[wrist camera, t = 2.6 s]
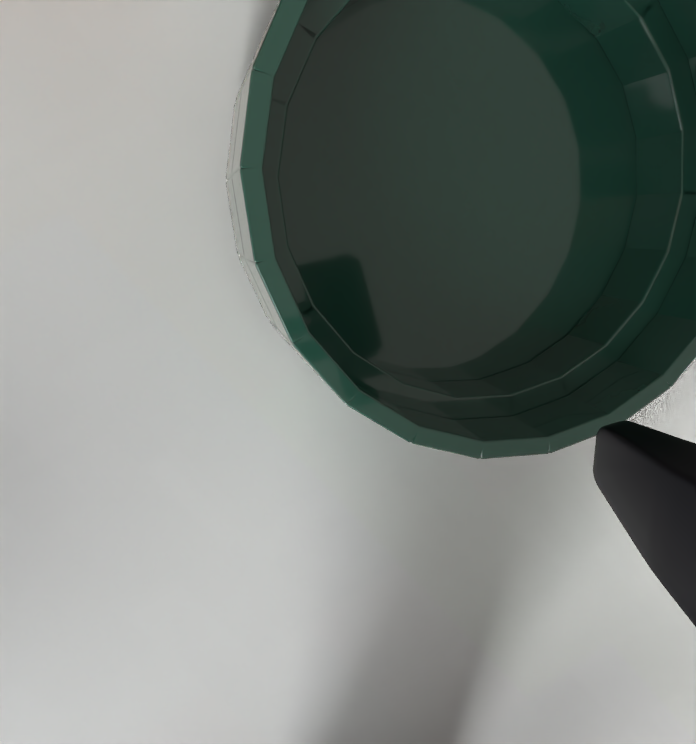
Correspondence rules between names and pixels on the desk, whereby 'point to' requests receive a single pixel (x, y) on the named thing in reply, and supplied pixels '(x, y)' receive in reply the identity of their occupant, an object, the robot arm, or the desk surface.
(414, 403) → the green shallow bowl
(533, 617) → the desk surface
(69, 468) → the desk surface
